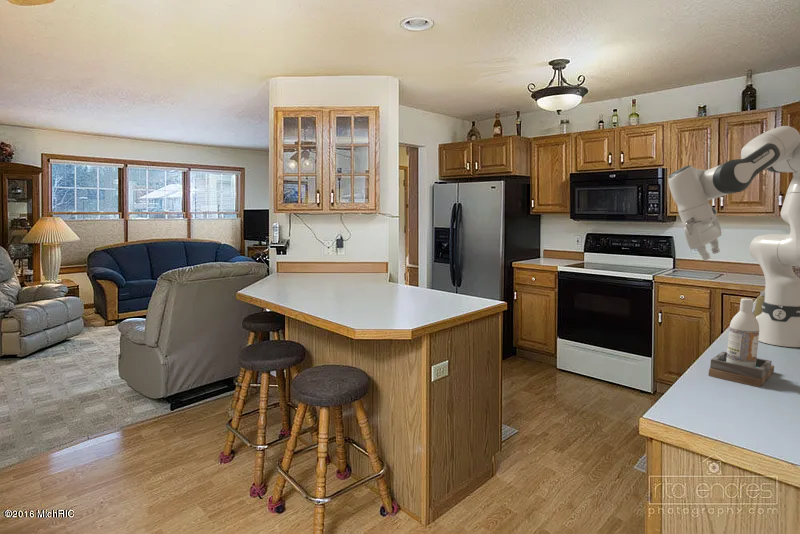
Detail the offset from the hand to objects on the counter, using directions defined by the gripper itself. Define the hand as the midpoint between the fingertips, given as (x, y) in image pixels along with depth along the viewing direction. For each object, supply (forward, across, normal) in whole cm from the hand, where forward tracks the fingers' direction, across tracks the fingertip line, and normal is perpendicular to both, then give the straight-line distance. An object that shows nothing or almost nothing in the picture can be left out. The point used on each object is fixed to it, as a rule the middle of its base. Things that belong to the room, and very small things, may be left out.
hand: (712, 256), depth 154 cm
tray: (+33, -18, -2) cm, 38 cm away
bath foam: (+31, -19, -3) cm, 36 cm away
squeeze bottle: (+41, +57, +11) cm, 71 cm away
